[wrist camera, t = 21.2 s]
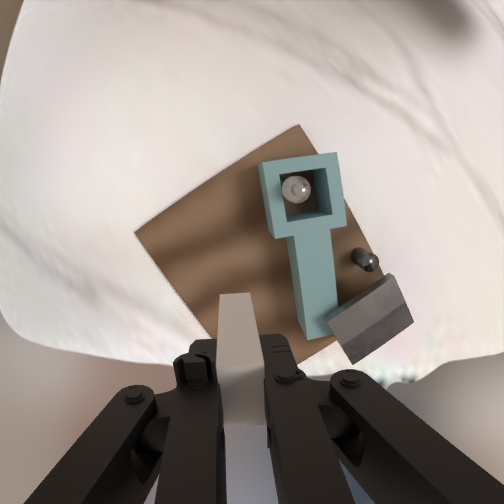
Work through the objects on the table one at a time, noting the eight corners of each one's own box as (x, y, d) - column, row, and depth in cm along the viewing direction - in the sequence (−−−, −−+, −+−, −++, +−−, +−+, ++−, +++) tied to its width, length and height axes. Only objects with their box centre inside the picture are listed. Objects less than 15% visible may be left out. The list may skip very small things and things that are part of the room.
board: (136, 231, 34) (134, 232, 33) (298, 125, 33) (299, 124, 32) (254, 385, 39) (254, 388, 39) (393, 298, 38) (395, 299, 37)
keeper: (301, 283, 36) (317, 306, 29) (361, 243, 35) (388, 257, 29) (334, 336, 38) (352, 364, 31) (389, 298, 37) (416, 320, 31)
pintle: (269, 184, 34) (282, 185, 26) (287, 172, 34) (307, 170, 25) (280, 203, 34) (297, 210, 26) (299, 191, 34) (322, 195, 26)
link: (257, 164, 33) (262, 162, 28) (321, 155, 33) (336, 152, 28) (283, 323, 37) (290, 343, 32) (340, 310, 37) (355, 328, 32)
